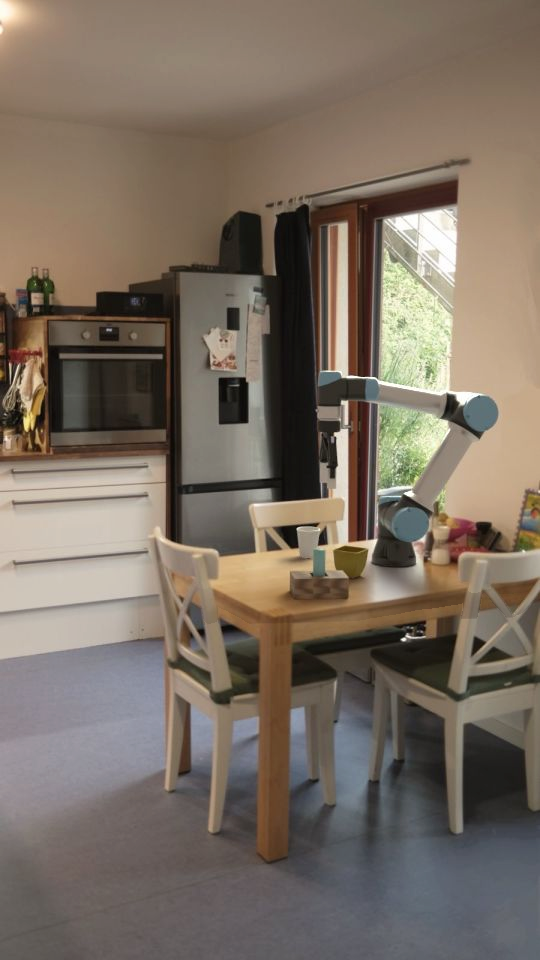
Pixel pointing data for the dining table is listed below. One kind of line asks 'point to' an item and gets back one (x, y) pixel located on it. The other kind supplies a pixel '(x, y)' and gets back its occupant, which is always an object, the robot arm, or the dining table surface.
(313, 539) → the dixie cup
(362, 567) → the flower pot
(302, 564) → the dining table surface
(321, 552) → the pin
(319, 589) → the block
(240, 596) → the dining table surface
